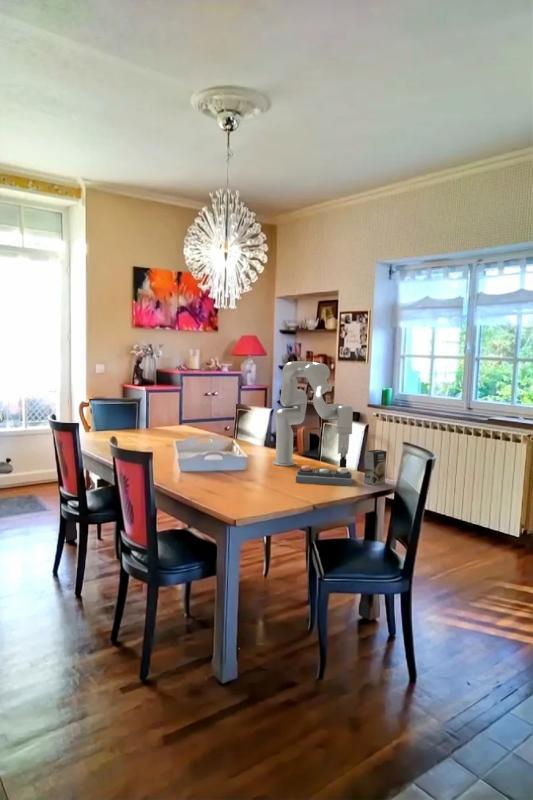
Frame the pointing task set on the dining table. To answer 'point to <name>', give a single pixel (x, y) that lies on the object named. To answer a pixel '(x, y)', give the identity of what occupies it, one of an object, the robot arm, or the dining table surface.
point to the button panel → (324, 477)
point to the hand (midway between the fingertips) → (342, 467)
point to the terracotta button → (306, 468)
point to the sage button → (323, 470)
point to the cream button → (342, 470)
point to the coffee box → (375, 467)
